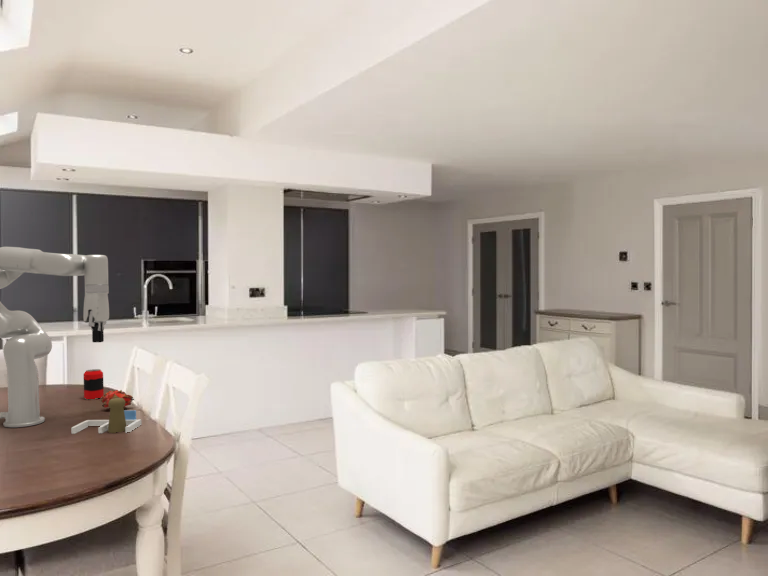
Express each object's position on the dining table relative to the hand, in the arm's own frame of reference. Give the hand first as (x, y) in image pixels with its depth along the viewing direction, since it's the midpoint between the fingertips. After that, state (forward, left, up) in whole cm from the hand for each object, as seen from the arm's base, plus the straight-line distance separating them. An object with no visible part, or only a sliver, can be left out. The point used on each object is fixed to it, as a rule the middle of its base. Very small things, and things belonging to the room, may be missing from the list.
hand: (98, 341), depth 212 cm
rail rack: (+6, -8, -29) cm, 31 cm away
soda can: (-24, +45, -29) cm, 59 cm away
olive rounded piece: (+10, -10, -29) cm, 32 cm away
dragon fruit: (-4, +23, -29) cm, 37 cm away
